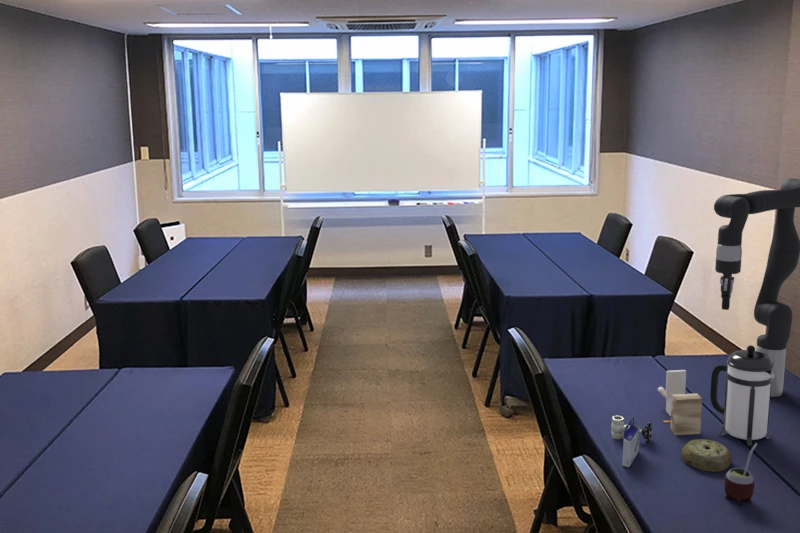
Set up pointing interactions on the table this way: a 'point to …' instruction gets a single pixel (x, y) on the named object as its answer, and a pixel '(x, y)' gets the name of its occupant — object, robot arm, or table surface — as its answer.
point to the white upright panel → (674, 386)
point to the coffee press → (745, 394)
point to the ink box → (630, 442)
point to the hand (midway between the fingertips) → (725, 309)
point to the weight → (706, 455)
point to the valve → (619, 427)
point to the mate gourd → (740, 483)
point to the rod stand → (684, 413)
